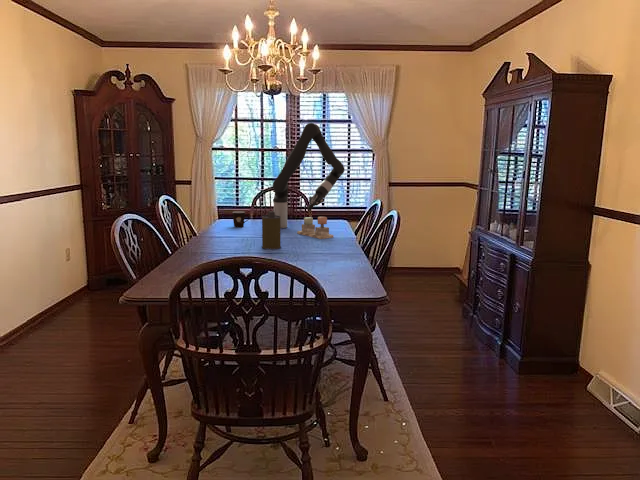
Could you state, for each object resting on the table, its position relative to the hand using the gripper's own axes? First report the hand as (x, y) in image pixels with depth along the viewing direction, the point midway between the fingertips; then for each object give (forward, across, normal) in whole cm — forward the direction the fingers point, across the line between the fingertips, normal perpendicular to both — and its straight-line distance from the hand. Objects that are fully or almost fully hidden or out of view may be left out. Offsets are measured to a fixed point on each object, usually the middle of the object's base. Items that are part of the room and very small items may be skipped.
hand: (308, 209), depth 329 cm
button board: (+11, +7, +11) cm, 17 cm away
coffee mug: (+26, -48, -4) cm, 55 cm away
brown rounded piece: (+7, +14, +7) cm, 17 cm away
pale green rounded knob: (+9, 0, +9) cm, 12 cm away
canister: (+42, +23, -19) cm, 52 cm away
